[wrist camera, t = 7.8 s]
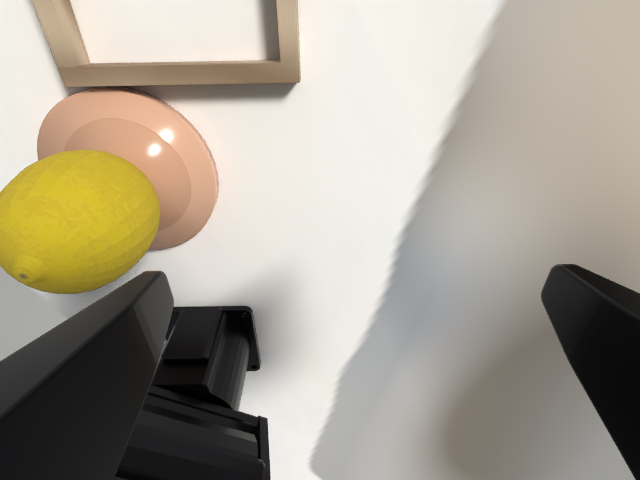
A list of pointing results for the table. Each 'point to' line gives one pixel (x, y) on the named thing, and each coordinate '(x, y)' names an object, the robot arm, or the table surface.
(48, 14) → the wooden picture frame
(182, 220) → the saucer
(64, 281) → the lemon
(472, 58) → the table surface
